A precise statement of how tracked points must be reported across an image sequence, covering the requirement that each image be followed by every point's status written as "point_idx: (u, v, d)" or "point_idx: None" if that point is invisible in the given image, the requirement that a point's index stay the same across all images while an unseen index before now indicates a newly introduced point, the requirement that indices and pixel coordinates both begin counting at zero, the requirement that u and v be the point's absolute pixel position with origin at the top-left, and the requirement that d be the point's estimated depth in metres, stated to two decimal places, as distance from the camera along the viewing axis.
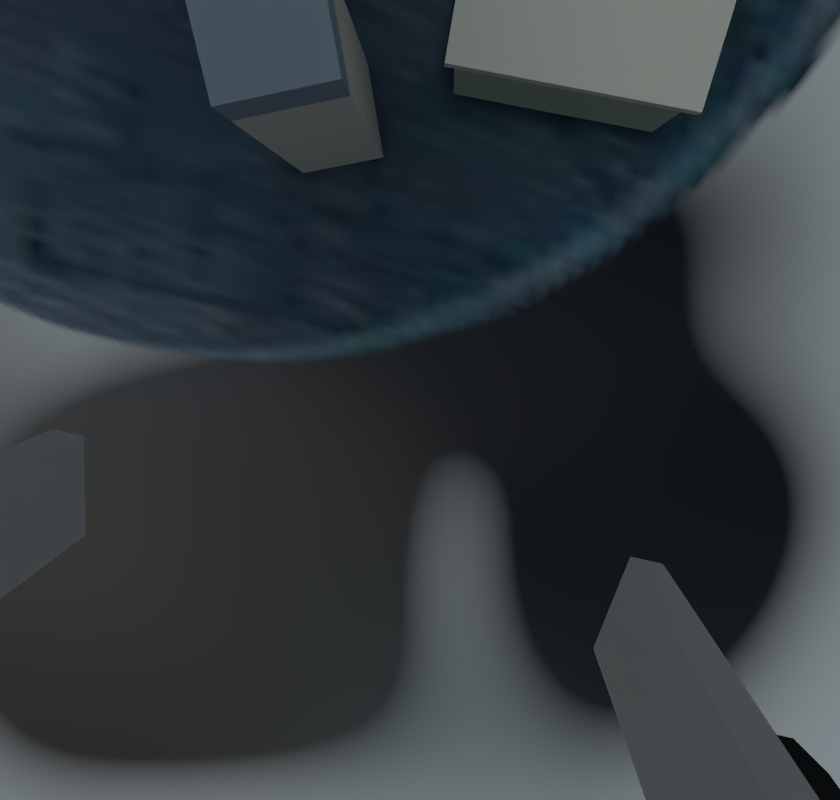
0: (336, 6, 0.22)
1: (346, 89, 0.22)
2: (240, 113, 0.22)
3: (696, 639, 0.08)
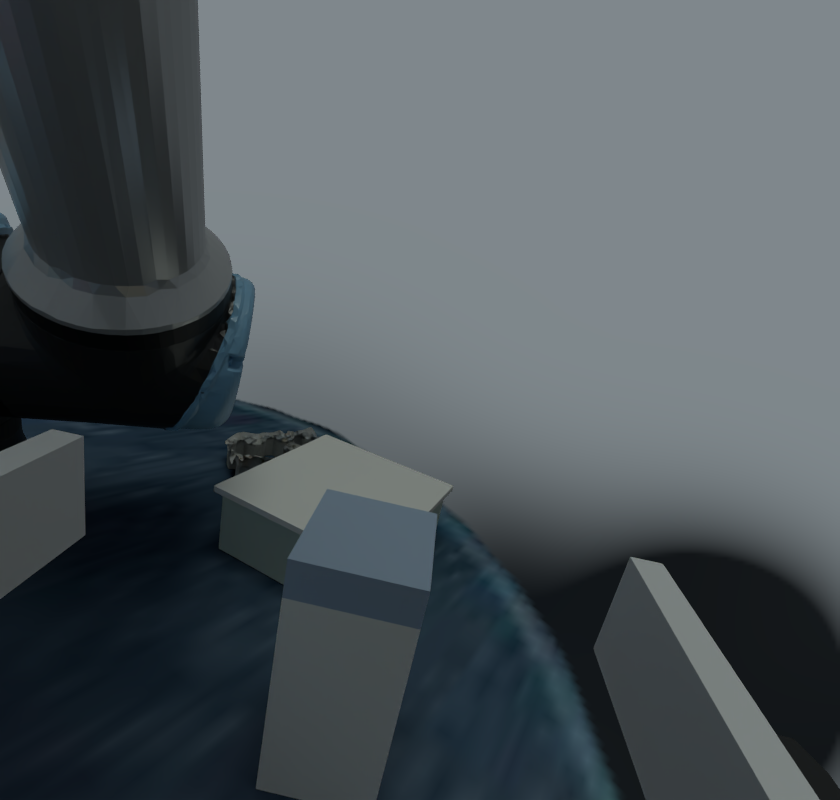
0: None
1: None
2: None
3: (696, 639, 0.08)
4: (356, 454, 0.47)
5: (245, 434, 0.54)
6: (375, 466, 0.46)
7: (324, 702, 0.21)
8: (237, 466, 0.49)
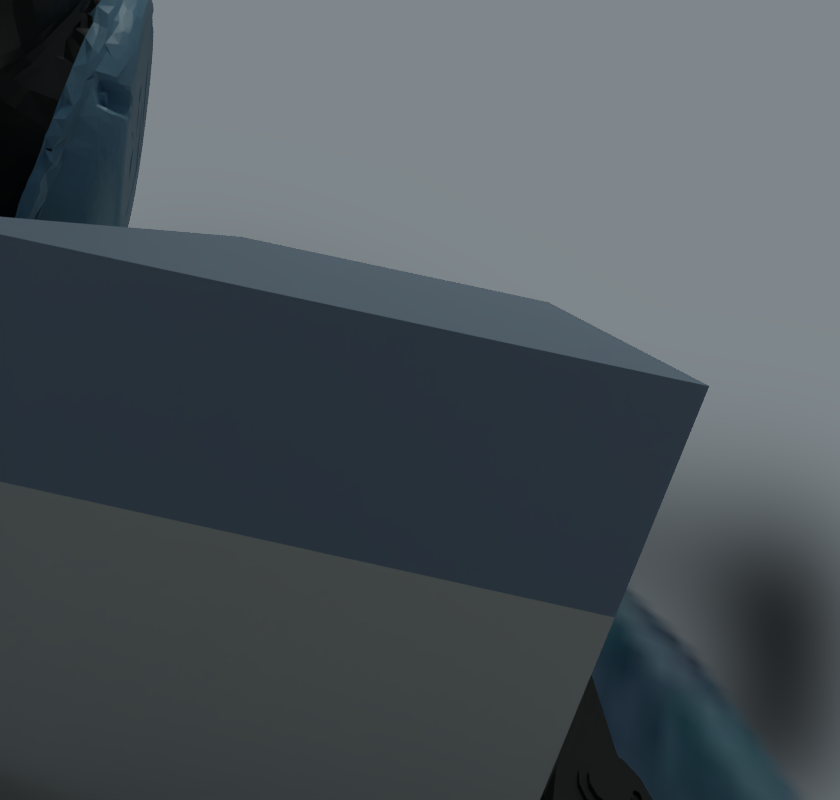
0: None
1: None
2: None
3: None
4: None
5: None
6: None
7: None
8: None
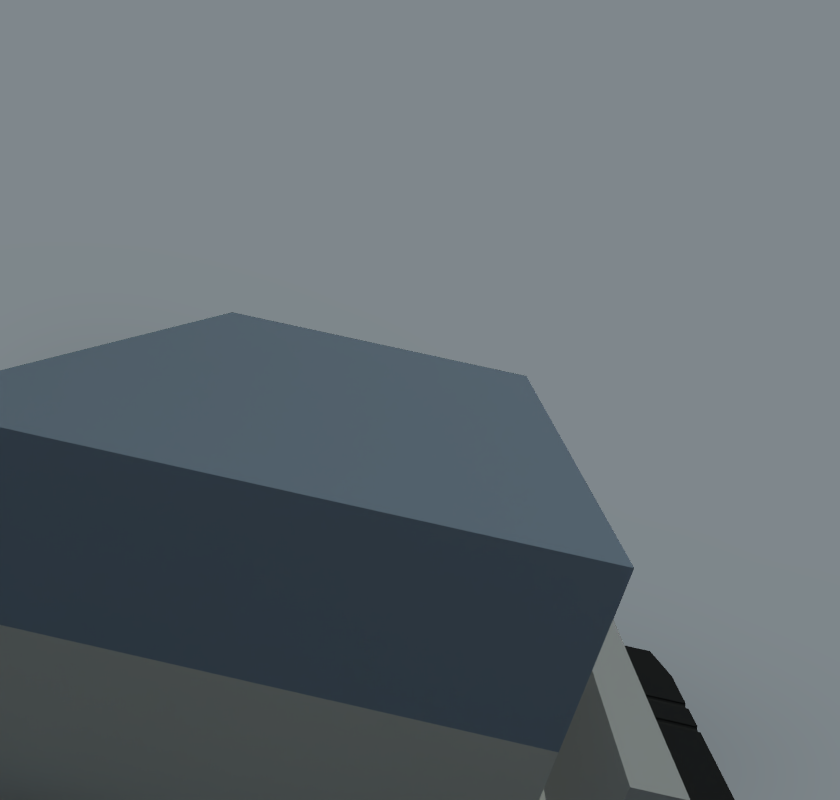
0: None
1: None
2: None
3: None
4: None
5: None
6: None
7: None
8: None
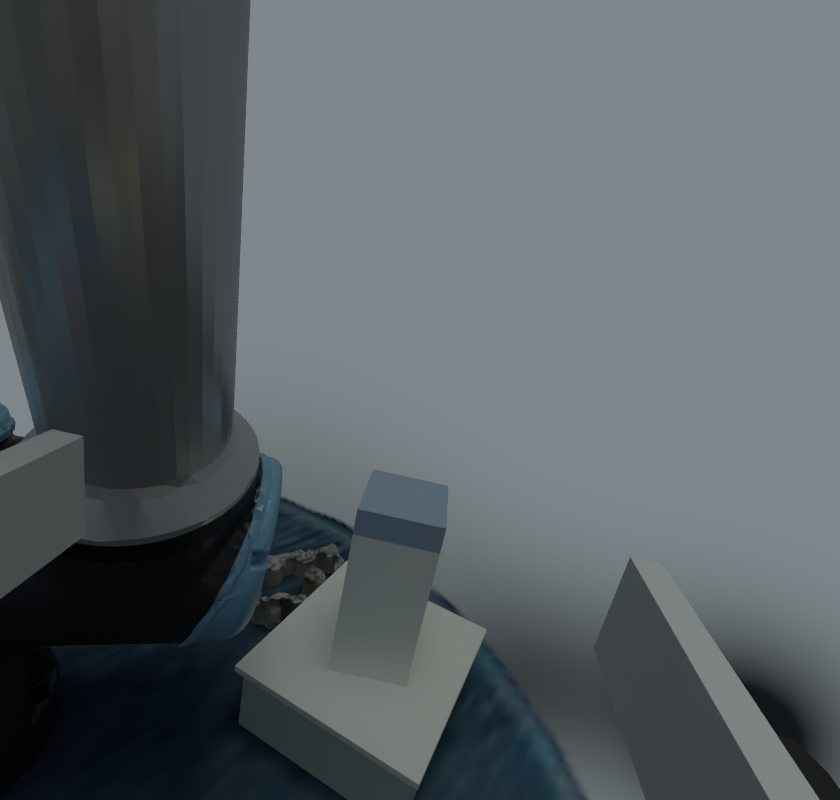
0: None
1: None
2: None
3: (696, 639, 0.08)
4: None
5: None
6: None
7: (376, 604, 0.33)
8: None
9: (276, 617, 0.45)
